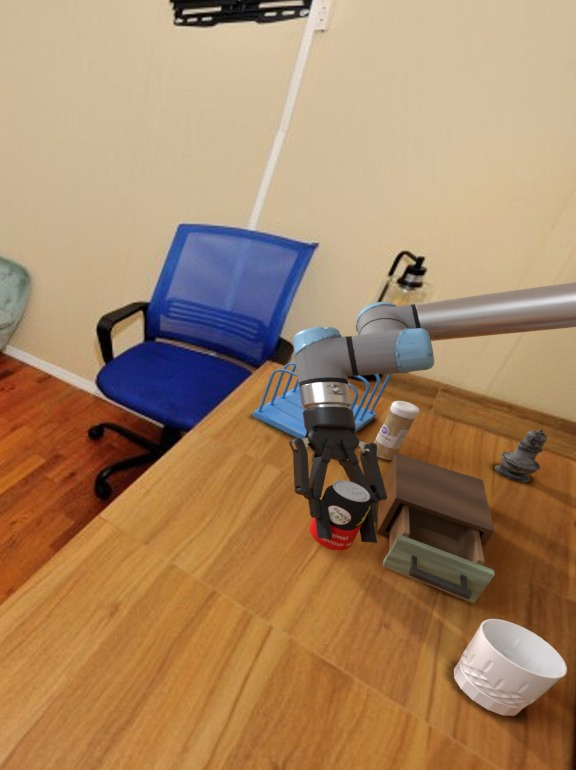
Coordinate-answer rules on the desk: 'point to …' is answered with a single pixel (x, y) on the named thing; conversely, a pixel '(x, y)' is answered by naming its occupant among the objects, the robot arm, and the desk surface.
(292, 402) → the file sorter
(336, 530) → the beverage can
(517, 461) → the grey chess piece
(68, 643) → the desk surface
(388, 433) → the sprinkles bottle
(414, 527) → the drawer
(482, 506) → the cabinet
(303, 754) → the desk surface
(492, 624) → the white cup
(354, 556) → the desk surface
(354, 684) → the desk surface
